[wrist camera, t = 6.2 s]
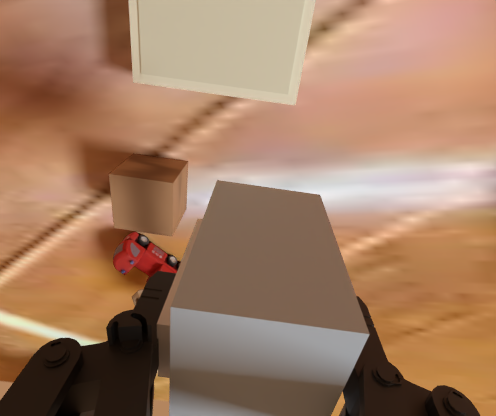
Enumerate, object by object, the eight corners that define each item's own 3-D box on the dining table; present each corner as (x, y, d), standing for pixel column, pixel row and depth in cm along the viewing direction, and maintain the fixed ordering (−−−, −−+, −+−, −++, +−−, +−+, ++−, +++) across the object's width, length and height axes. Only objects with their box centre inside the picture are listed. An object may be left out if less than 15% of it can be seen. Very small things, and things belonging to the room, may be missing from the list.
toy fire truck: (133, 226, 38) (94, 279, 29) (216, 286, 42) (204, 347, 33) (119, 241, 39) (78, 296, 31) (201, 298, 43) (185, 360, 35)
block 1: (136, 201, 36) (114, 228, 31) (133, 153, 33) (108, 173, 28) (186, 208, 36) (172, 236, 31) (188, 161, 33) (173, 183, 28)
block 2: (207, 288, 18) (168, 446, 11) (217, 180, 15) (170, 306, 7) (291, 300, 18) (307, 464, 11) (319, 194, 15) (369, 334, 8)
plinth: (149, 77, 29) (132, 82, 26) (145, -55, 24) (123, -73, 21) (292, 98, 29) (295, 105, 26) (315, -31, 25) (324, -43, 21)
